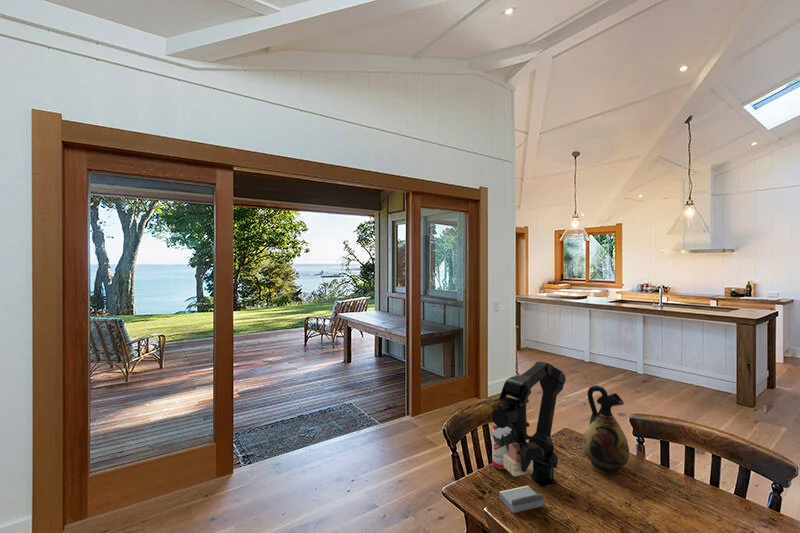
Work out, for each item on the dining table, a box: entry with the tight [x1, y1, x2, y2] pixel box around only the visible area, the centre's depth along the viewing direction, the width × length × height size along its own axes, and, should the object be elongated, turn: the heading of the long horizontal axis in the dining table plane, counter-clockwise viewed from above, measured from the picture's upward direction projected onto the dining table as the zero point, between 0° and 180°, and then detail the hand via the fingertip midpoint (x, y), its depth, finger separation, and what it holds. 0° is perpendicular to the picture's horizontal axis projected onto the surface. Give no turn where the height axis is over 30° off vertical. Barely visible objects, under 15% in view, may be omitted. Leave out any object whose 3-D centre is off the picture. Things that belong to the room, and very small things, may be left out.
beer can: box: [491, 422, 508, 470], centre depth 140 cm, size 6×6×16 cm
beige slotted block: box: [503, 454, 533, 477], centre depth 119 cm, size 7×6×4 cm
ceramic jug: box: [582, 384, 631, 476], centre depth 138 cm, size 17×15×30 cm
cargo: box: [509, 442, 521, 461], centre depth 119 cm, size 4×4×4 cm
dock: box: [498, 485, 544, 514], centre depth 118 cm, size 11×8×4 cm
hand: (518, 466), depth 119 cm, fingers closed on beige slotted block, 6 cm apart
